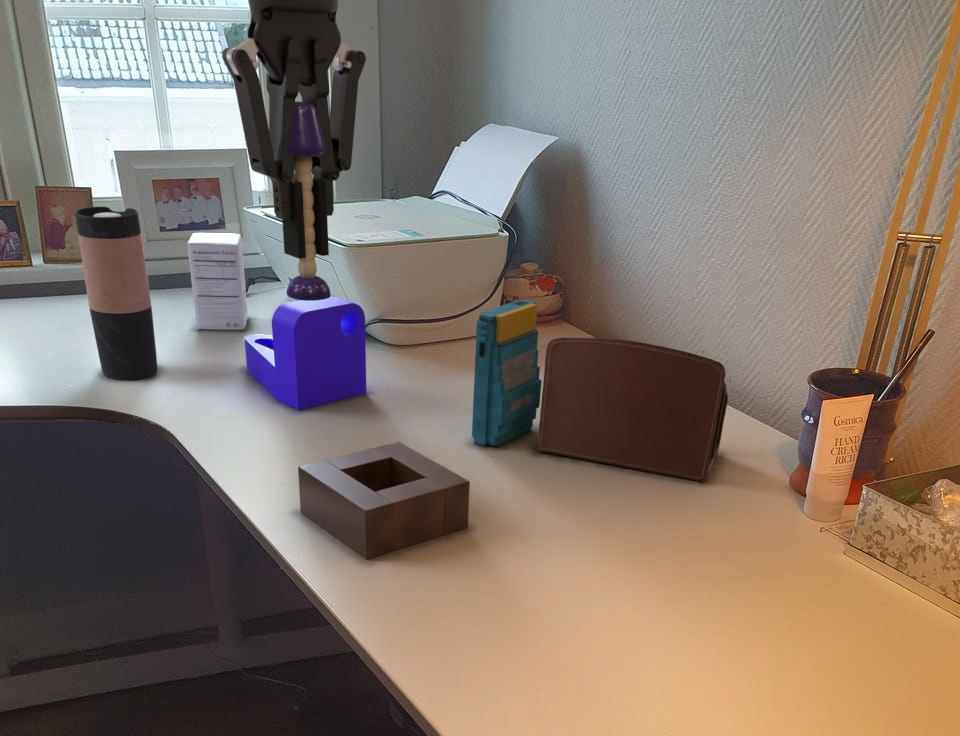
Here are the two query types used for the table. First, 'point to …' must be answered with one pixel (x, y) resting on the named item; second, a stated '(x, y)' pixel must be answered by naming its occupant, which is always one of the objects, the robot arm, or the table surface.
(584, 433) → the letter holder
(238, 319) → the white packaging box
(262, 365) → the bracket
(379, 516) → the socket base
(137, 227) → the travel mug
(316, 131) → the toy lamp
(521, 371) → the handheld gaming console
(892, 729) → the table surface
